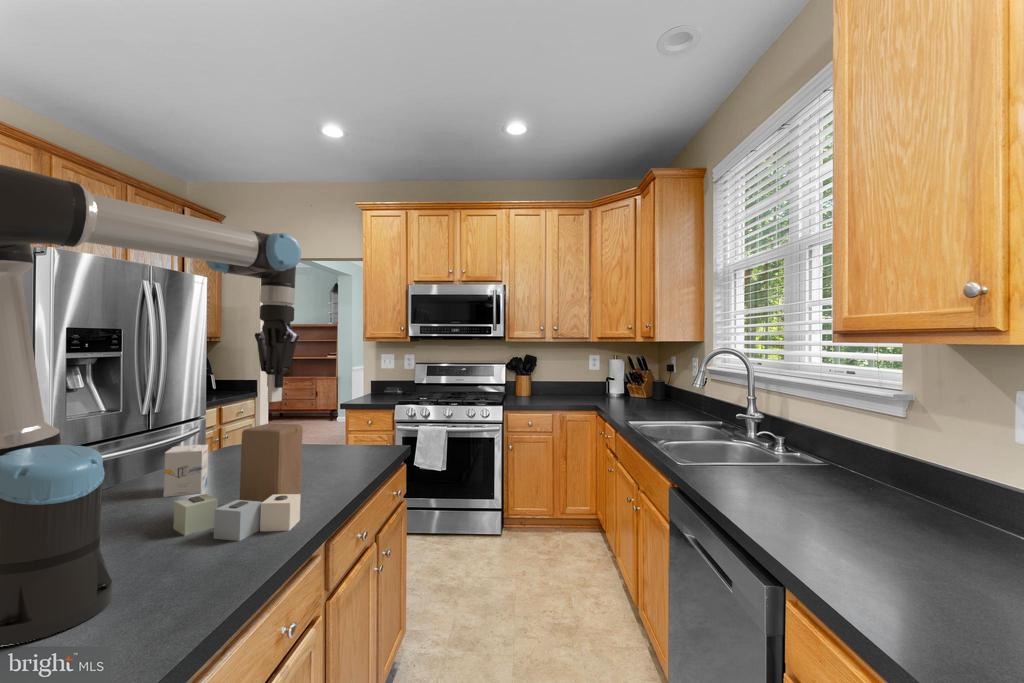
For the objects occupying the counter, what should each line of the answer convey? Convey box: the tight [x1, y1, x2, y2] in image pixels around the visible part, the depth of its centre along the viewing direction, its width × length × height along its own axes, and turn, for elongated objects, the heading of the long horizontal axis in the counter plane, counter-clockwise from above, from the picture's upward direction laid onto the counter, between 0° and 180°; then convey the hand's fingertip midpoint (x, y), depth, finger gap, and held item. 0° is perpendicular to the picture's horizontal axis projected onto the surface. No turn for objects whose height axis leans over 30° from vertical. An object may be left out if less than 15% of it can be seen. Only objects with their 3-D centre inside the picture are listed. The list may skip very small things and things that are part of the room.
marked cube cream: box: [259, 493, 302, 532], centre depth 98 cm, size 6×6×6 cm
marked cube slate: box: [213, 499, 262, 542], centre depth 94 cm, size 6×6×6 cm
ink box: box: [162, 443, 209, 498], centre depth 121 cm, size 9×8×12 cm
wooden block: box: [239, 423, 304, 502], centre depth 108 cm, size 10×10×20 cm
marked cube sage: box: [173, 493, 219, 537], centre depth 96 cm, size 6×6×6 cm
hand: (274, 401), depth 109 cm, fingers closed
